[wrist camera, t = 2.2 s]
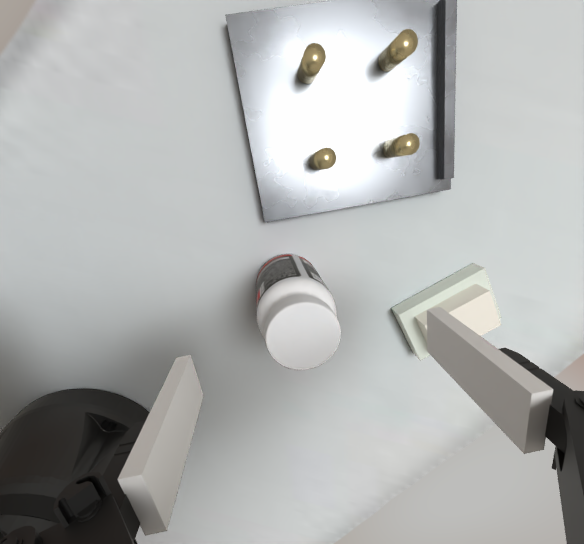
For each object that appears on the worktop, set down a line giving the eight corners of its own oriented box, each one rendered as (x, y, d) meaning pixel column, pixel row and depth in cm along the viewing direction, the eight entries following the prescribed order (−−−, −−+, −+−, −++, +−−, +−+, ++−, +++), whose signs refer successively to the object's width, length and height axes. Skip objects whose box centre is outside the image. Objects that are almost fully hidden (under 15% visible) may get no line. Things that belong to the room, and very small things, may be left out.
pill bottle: (253, 307, 27) (250, 375, 18) (259, 249, 26) (260, 289, 16) (312, 312, 28) (339, 379, 19) (322, 256, 27) (357, 298, 17)
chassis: (264, 220, 25) (265, 228, 21) (227, 23, 21) (219, -14, 17) (442, 188, 26) (475, 190, 22) (443, -7, 21) (485, -49, 17)
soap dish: (412, 351, 31) (430, 371, 28) (391, 307, 29) (407, 324, 26) (489, 310, 30) (516, 326, 27) (472, 263, 28) (500, 274, 25)
